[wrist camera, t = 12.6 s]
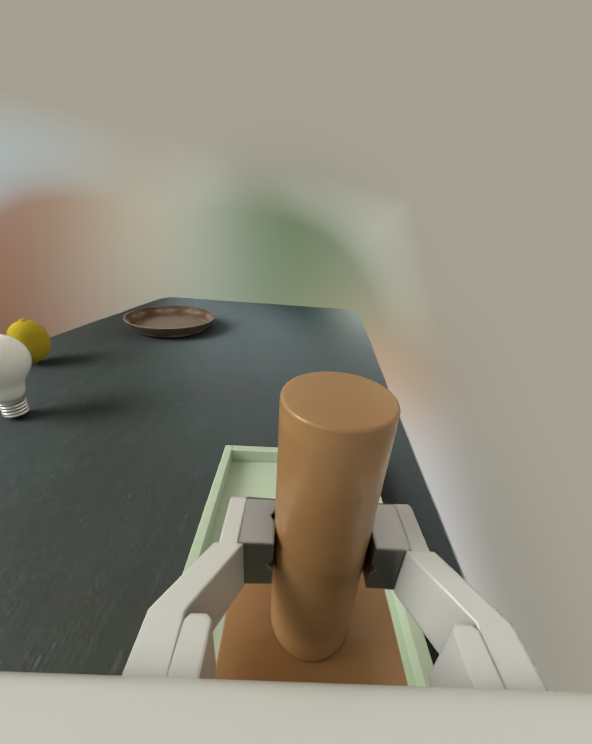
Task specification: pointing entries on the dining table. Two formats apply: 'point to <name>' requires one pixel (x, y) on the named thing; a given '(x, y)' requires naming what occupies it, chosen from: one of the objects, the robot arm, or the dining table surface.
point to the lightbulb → (13, 376)
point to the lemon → (31, 338)
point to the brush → (321, 545)
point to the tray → (258, 479)
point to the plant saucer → (169, 321)
